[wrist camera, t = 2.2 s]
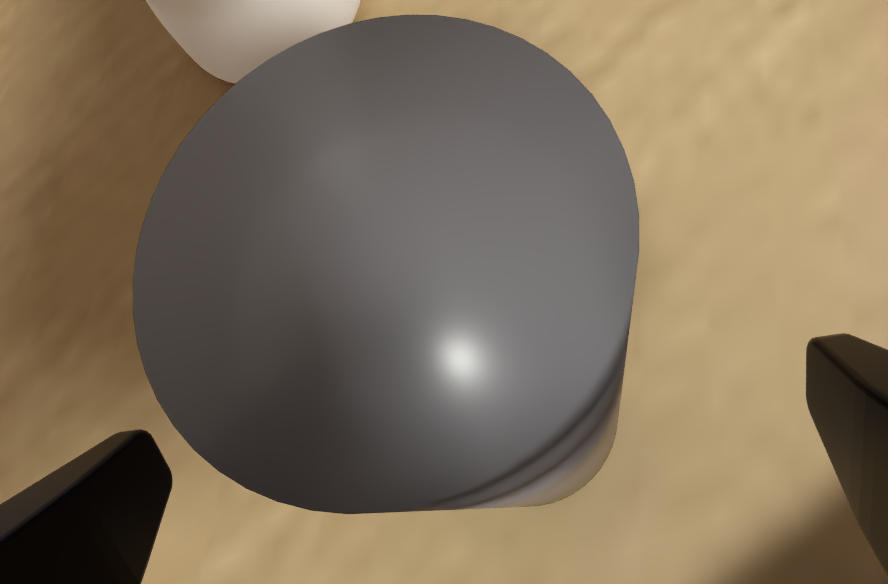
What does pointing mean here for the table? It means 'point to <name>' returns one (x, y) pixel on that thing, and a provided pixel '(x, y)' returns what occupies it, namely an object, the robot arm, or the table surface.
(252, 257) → the charcoal canister
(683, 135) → the table surface
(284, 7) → the water bottle
